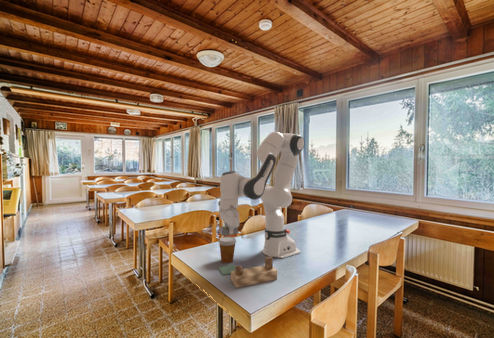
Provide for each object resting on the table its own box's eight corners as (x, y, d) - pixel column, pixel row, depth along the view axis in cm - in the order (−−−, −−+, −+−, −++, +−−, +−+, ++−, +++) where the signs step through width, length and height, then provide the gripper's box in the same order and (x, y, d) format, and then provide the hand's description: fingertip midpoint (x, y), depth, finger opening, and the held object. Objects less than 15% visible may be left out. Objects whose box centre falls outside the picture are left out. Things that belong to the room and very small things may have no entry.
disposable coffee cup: (236, 257, 130) (236, 236, 130) (235, 264, 120) (236, 241, 120) (219, 257, 129) (219, 236, 129) (217, 264, 120) (217, 241, 120)
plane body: (269, 272, 112) (269, 254, 112) (277, 279, 105) (277, 259, 105) (229, 280, 104) (229, 260, 104) (234, 287, 97) (235, 266, 97)
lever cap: (234, 231, 117) (234, 224, 117) (237, 233, 113) (237, 226, 113) (219, 233, 114) (219, 225, 114) (222, 235, 110) (222, 228, 109)
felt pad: (233, 265, 119) (233, 264, 119) (238, 272, 111) (238, 271, 111) (218, 268, 116) (218, 267, 116) (222, 275, 108) (222, 274, 108)
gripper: (242, 207, 105) (242, 237, 105) (228, 200, 123) (228, 226, 124) (229, 208, 102) (229, 239, 102) (217, 201, 121) (217, 227, 121)
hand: (228, 232), depth 113 cm, fingers closed on lever cap, 4 cm apart
